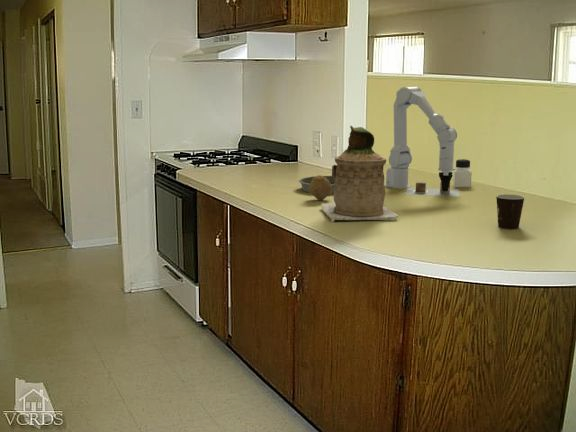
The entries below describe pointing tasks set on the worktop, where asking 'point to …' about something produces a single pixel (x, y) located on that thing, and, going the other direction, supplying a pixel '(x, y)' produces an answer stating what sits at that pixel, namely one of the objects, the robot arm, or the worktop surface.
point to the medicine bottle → (462, 173)
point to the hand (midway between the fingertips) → (445, 190)
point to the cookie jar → (359, 182)
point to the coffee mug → (509, 210)
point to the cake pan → (306, 181)
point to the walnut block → (421, 187)
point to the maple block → (444, 191)
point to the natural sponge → (320, 187)
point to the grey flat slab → (432, 192)
